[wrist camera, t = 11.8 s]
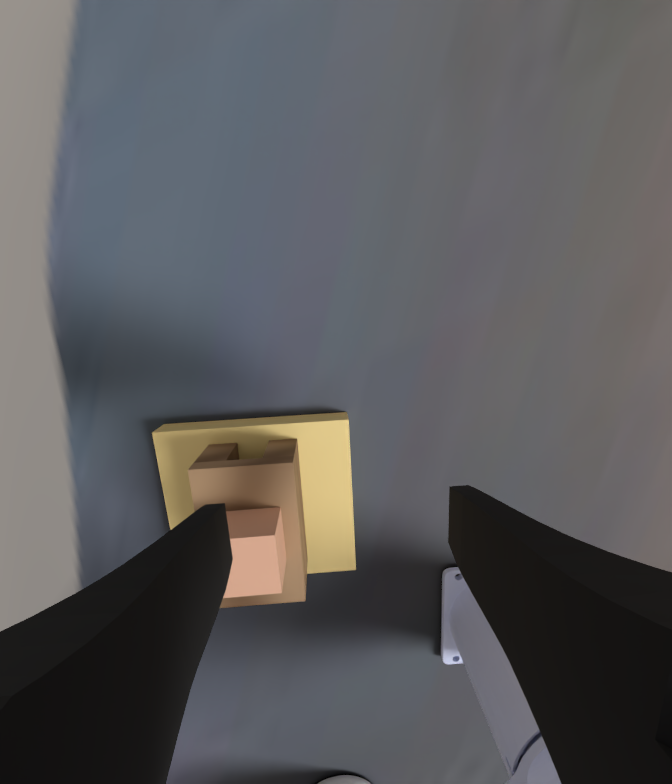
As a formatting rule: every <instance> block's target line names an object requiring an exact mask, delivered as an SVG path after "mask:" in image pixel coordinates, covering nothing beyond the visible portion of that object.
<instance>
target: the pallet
mask: <svg viewBox="0 0 672 784" xmlns="http://www.w3.org/2000/svg"><path fill="white" fill-rule="evenodd" d="M188 475H189V481H190V487H191V493H192V499H193V505H194V511H197V510H198V509H199V508H201V507H202V506H204V505H205V504H219V503H225V508H226V511H237V510H249V509H262V508H275V507H281V515H282V524H283V533H284V542H285V551H286V566H285V573H284V580H283V587H282V593H277V594H266V595H254V596H242V597H231V598H223V600H222V602H221V605H220V608H227V607H239V606H251V605H264V604H276V603H288V602H300V601H306V582H307V563H308V557H307V545H306V534H305V522H304V511H303V499H302V488H301V476H300V464H299V453H298V441H297V439H283V440H269V442H268V444H267V447H266V450H265V452H264V455H263V457H262V458H255V459H240V460H239V452H238V444H237V443H224V444H209V445H208V446H207V447H206V449H205V450H204V451H203V452H202V453H201V455H200V456H199V457H198V458H197V459H196V460H195V462H194V463H193V464H192V465H191V466H190V468H189V469H188Z"/></svg>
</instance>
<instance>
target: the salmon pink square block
mask: <svg viewBox="0 0 672 784" xmlns="http://www.w3.org/2000/svg"><path fill="white" fill-rule="evenodd" d="M226 515H227V522H228V529H229V535H230V542H231V549H232V556H233V561H232V565H231V570H230V575H229V579H228V583H227V587H226V591H225V594H224V597H223V598H231V597H242V596H254V595H266V594H277V593H282V587H283V580H284V573H285V566H286V551H285V542H284V533H283V524H282V515H281V507H275V508H262V509H249V510H237V511H226Z"/></svg>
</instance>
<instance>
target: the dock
mask: <svg viewBox="0 0 672 784" xmlns="http://www.w3.org/2000/svg"><path fill="white" fill-rule="evenodd" d="M152 436H153V441H154V446H155V452H156V457H157V462H158V467H159V473H160V478H161V483H162V488H163V494H164V499H165V504H166V510H167V515H168V520H169V525H170V530H172V529H173V528H174V527H176V526H177V525H178V524H179V523H181V522H182V521H183V520H185V519H186V518H187V517H189V516H190V515H191V514H192V513H194V512H195V511H194V505H193V499H192V493H191V487H190V481H189V475H188V469H189V468H190V466H191V465H192V464H193V463H194V462H195V460H196V459H197V458H198V457H199V456H200V455H201V453H202V452H203V451H204V450H205V449H206V447H207V446H208V445H209V444H224V443H237V444H238V452H239V460H240V459H255V458H262V457H263V455H264V452H265V450H266V447H267V444H268V442H269V440H283V439H297V441H298V453H299V464H300V476H301V488H302V499H303V511H304V522H305V534H306V545H307V557H308V563H307V574H311V573H323V572H336V571H349V570H356V559H355V538H354V518H353V498H352V478H351V457H350V437H349V419H348V415H347V412H339V413H324V414H309V415H294V416H279V417H263V418H248V419H233V420H218V421H203V422H188V423H172V424H163V425H162V426H160V427H159V428H158V429H156V430H155V431H154V432H152Z"/></svg>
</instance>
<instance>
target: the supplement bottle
mask: <svg viewBox="0 0 672 784" xmlns="http://www.w3.org/2000/svg"><path fill="white" fill-rule="evenodd" d="M318 784H371V783H370V782H368V781H367V780H365V779H363V778H360V777H357V776H352V775H339V776H334V777H330V778H327V779H325V780H323V781H321V782H319V783H318Z"/></svg>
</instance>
